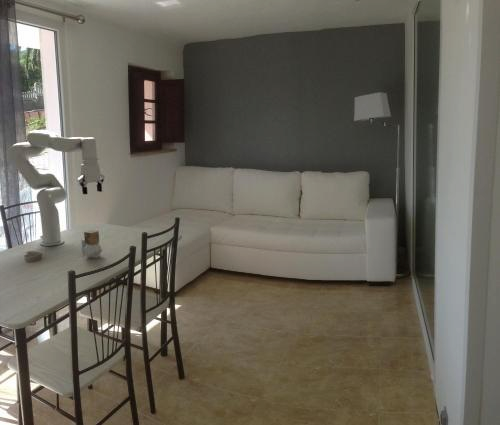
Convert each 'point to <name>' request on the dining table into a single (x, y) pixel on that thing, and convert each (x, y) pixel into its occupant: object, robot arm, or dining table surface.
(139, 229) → the dining table surface
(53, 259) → the dining table surface
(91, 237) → the walnut block
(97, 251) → the die
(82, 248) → the grey block
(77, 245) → the dining table surface
